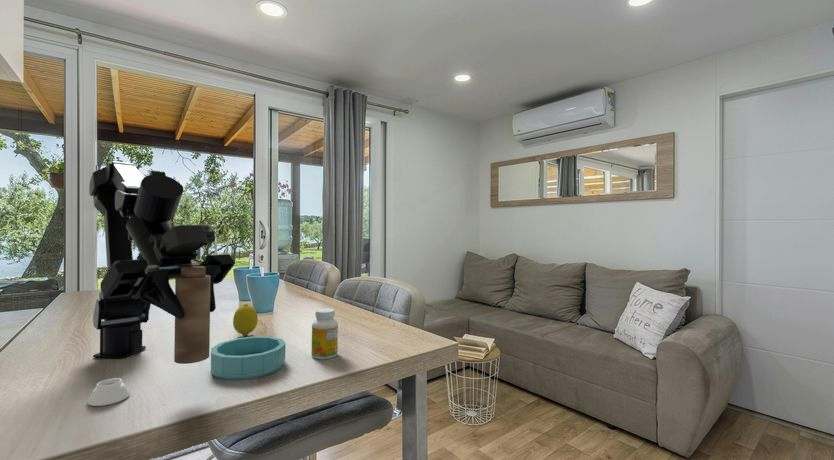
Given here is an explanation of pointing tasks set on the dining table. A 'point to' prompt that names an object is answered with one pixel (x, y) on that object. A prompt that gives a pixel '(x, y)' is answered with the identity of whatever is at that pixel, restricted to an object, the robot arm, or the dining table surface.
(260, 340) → the bowl
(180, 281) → the pepper mill
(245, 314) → the lemon
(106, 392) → the lidless jar
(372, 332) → the dining table surface
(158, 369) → the dining table surface
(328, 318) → the supplement bottle
